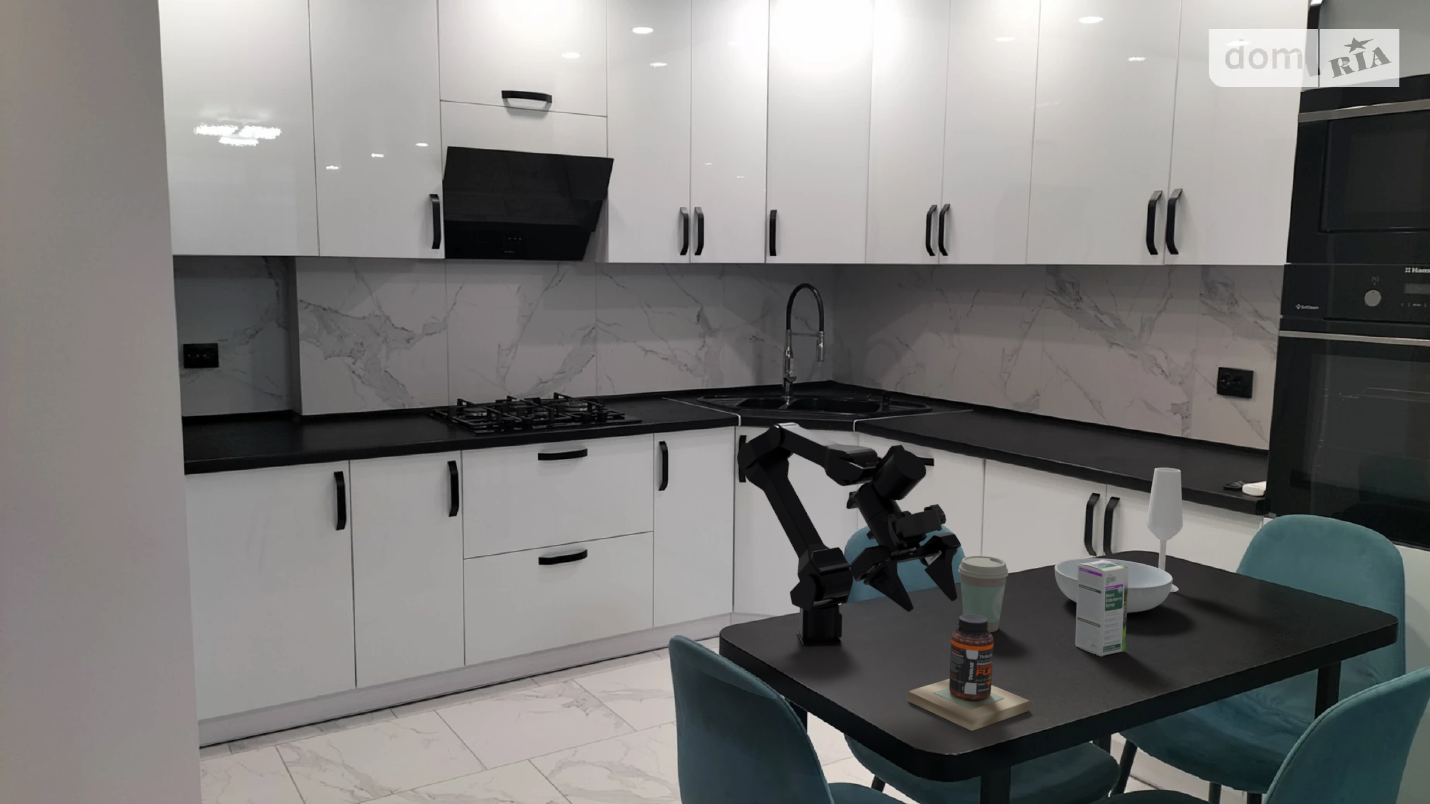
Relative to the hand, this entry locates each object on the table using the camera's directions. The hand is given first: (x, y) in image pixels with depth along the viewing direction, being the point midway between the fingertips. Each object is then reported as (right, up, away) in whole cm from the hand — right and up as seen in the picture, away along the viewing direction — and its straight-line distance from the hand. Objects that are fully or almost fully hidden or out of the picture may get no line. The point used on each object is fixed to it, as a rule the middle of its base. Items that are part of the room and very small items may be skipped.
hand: (933, 605), depth 152 cm
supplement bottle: (+4, -12, -4) cm, 14 cm away
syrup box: (+32, -11, +19) cm, 39 cm away
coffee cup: (+15, -10, +30) cm, 34 cm away
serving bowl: (+43, -9, +42) cm, 61 cm away
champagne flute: (+57, -7, +55) cm, 80 cm away
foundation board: (+4, -14, -4) cm, 15 cm away
